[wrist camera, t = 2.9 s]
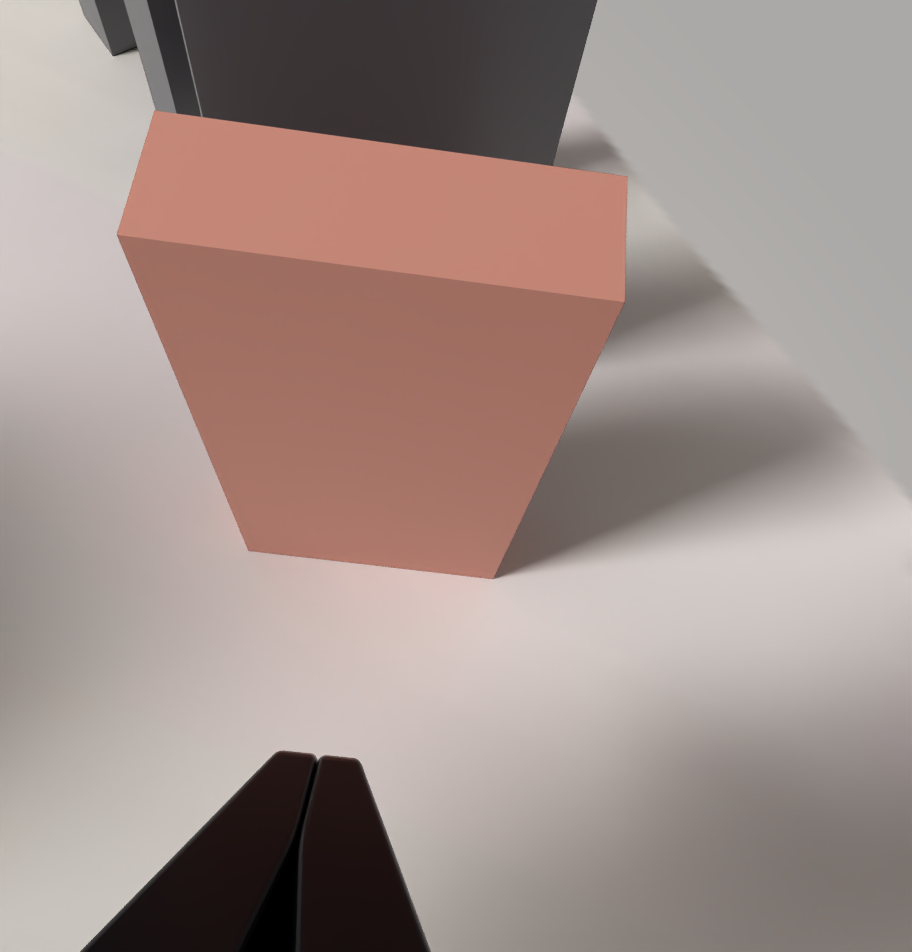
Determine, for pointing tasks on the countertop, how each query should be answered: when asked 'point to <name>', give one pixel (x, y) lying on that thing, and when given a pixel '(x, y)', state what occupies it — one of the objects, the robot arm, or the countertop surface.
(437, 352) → the domino
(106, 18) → the domino
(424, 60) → the domino
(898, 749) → the countertop surface
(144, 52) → the domino
